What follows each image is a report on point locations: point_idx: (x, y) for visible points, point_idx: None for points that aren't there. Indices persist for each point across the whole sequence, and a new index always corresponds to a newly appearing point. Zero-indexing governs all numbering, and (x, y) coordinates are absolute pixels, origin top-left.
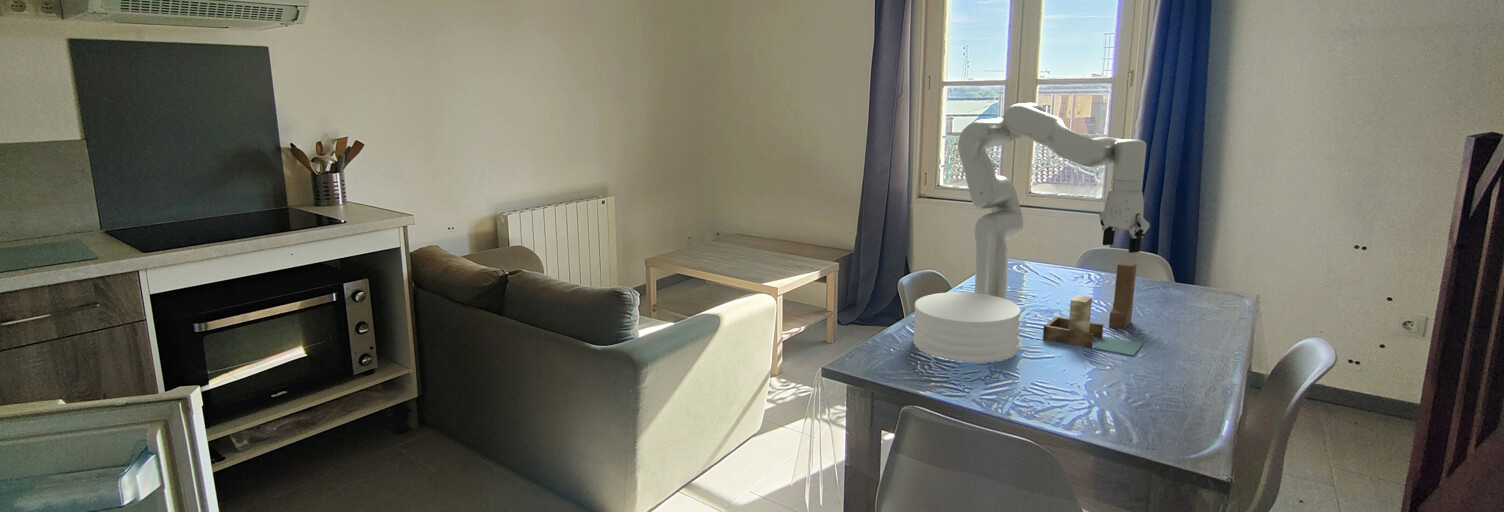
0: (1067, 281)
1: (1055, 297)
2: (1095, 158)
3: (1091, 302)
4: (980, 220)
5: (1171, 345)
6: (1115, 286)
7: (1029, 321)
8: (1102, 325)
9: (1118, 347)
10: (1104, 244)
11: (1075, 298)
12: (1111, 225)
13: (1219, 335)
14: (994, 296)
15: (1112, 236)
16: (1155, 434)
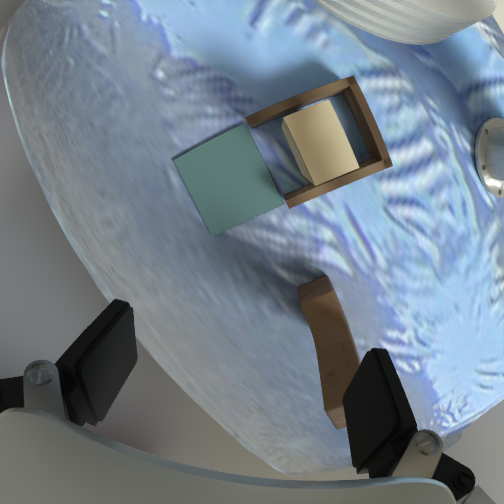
0: (471, 387)
1: (467, 327)
2: None
3: (312, 183)
4: None
5: (188, 278)
6: (355, 351)
7: (438, 166)
8: (285, 200)
9: (218, 171)
10: (372, 351)
11: (335, 128)
12: (294, 495)
13: (195, 373)
14: (455, 15)
15: (354, 431)
16: (32, 18)
